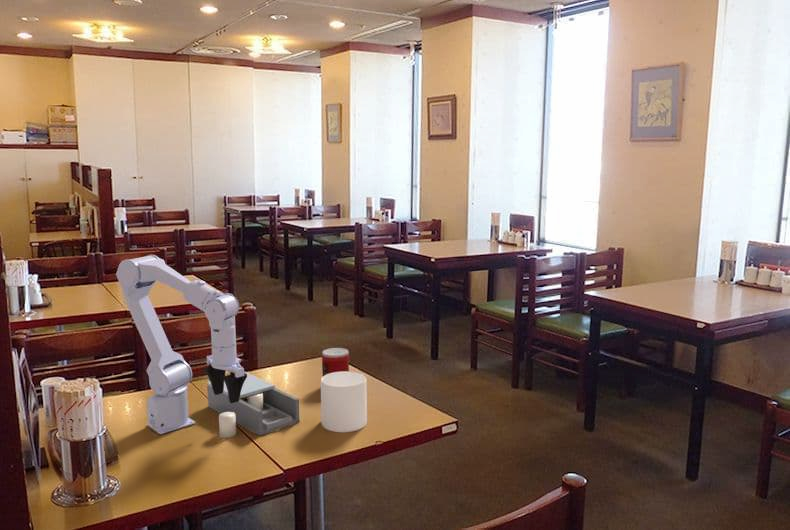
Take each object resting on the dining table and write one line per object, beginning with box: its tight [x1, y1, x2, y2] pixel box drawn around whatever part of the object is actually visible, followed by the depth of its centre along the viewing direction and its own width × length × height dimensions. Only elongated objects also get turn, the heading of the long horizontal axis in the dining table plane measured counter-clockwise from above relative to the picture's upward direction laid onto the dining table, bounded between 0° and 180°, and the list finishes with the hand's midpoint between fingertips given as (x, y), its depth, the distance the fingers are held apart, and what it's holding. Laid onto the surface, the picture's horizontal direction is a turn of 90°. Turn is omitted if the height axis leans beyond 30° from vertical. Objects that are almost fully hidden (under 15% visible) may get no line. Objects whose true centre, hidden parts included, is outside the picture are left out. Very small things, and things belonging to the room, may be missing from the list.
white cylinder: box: [320, 370, 368, 433], centre depth 163 cm, size 12×12×12 cm
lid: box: [206, 371, 276, 399], centre depth 172 cm, size 12×16×2 cm
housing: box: [206, 384, 300, 436], centre depth 169 cm, size 12×26×6 cm, turn 44°
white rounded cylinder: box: [218, 412, 237, 439], centre depth 157 cm, size 4×4×5 cm
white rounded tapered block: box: [246, 392, 263, 411], centre depth 168 cm, size 4×4×5 cm
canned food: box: [321, 347, 350, 377], centre depth 189 cm, size 8×8×11 cm
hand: (226, 397), depth 156 cm, fingers open, 7 cm apart
